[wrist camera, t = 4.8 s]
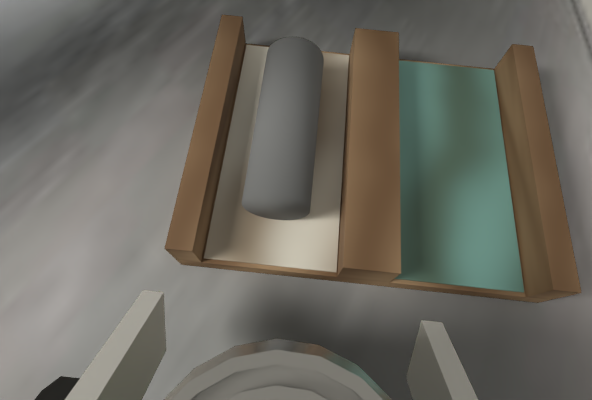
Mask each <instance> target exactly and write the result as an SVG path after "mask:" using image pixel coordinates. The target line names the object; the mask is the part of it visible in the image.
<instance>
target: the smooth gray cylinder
mask: <svg viewBox="0 0 592 400" xmlns="http://www.w3.org/2000/svg"><path fill="white" fill-rule="evenodd" d="M323 64H324V57H323V54H322V52H321V50H320V49H319V48H318V46H316V45H315V44H314V43H312V42H311V41H309V40H307V39H304V38H300V37H285V38H281V39H279V40H277V41H275V42H274V43H272V44H271V46H270V47H269V49H268V51H267V56H266V62H265V68H264V74H263V80H262V85H261V91H260V97H259V103H258V109H257V115H256V121H255V126H254V132H253V138H252V144H251V150H250V156H249V162H248V168H247V173H246V179H245V185H244V191H243V197H242V206H243V208H244V209H245V210H247V211H248V212H250V213H252V214H254V215H257V216H260V217H264V218H268V219H275V220H296V219H301V218H303V217H306V216H307V215H308V214H309V213H310V206H311V195H312V184H313V173H314V163H315V152H316V141H317V130H318V119H319V108H320V97H321V86H322V75H323Z"/></svg>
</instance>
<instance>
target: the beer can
mask: <svg viewBox="0 0 592 400" xmlns="http://www.w3.org/2000/svg"><path fill="white" fill-rule="evenodd" d="M164 400H392V399H391V398H390V397H389V396H388V395H387V394H386V393H385V392H384V391H383V390H382V389H381V388H380V387H379V386H378V385H377V384H376V383H375V382H374V381H373V380H372V379H371V378H370V377H369V376H368V375H367V374H366V373H365V372H364V371H363V370H362V369H361V368H360V367H359V366H358V365H357V364H355V363H353V362H351V361H349V360H347V359H345V358H343V357H341V356H339V355H337V354H335V353H334V352H332V351H330V350H328V349H326V348H324V347H322V346H320V345H317V344H310V343H304V342H297V341H291V340H284V339H278V338H277V339H271V340H266V341H260V342H255V343H249V344H244V345H238V346H234V347H232V348H230V349H229V350H227V351H225V352H223V353H221V354H219V355H218V356H216V357H214V358H212V359H210V360H208V361H207V362H205V363H203V364H201V365H199V366H197V367H196V368H194V369H193V370H192V371H191V372H190V373H189V374H188V375H187V376H186V377H185V378H184V379H183V380H182V381H181V382H180V383H179V384H178V385H177V386H176V387H175V388H174V389H173V390H172V391H171V393H170V394H169V395H168V396H167V397H166V398H165V399H164Z"/></svg>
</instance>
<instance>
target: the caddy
mask: <svg viewBox="0 0 592 400" xmlns="http://www.w3.org/2000/svg"><path fill="white" fill-rule="evenodd" d="M269 47H270V46H265V45H256V44H246V43H245V34H244V25H243V17H240V16H231V15H222V16H221V20H220V24H219V28H218V32H217V37H216V41H215V45H214V49H213V53H212V57H211V61H210V65H209V69H208V73H207V77H206V81H205V85H204V90H203V94H202V98H201V102H200V106H199V110H198V114H197V118H196V122H195V126H194V130H193V134H192V139H191V143H190V147H189V151H188V155H187V159H186V163H185V167H184V171H183V175H182V179H181V183H180V187H179V192H178V196H177V200H176V204H175V208H174V212H173V216H172V220H171V224H170V228H169V232H168V236H167V241H166V245H165V249H166V250H167V251H168V252H169V253H170V254H171V255H172V256H173V257H174V258H175V259H176V260H177V261H178V262H179V263H181V264H182V265H190V266H200V267H209V268H218V269H228V270H237V271H246V272H256V273H265V274H274V275H284V276H293V277H303V278H312V279H321V280H331V281H340V282H349V283H359V284H368V285H377V286H387V287H396V288H405V289H415V290H424V291H433V292H443V293H452V294H461V295H471V296H480V297H489V298H499V299H508V300H517V301H527V302H536V303H539V302H543V301H547V300H552V299H556V298H561V297H565V296H570V295H574V294H579V293H581V288H580V283H579V278H578V273H577V268H576V262H575V257H574V252H573V247H572V242H571V237H570V232H569V227H568V221H567V216H566V211H565V206H564V201H563V196H562V191H561V186H560V181H559V175H558V170H557V165H556V160H555V155H554V150H553V145H552V140H551V135H550V129H549V124H548V119H547V114H546V109H545V104H544V99H543V94H542V88H541V83H540V78H539V73H538V68H537V63H536V58H535V53H534V48H533V46H526V45H516V44H512V45H511V47H510V48H509V49H508V51H507V52H506V54H505V55H504V56H503V58H502V59H501V60H500V62H499V63H498V65H497V66H496V67H495V69H491V68H481V67H471V66H461V65H452V64H442V63H432V62H422V61H412V60H403V59H399V33H398V32H388V31H378V30H368V29H359V28H355V32H354V37H353V41H352V46H351V50H350V54H344V53H334V52H324V51H321V52H322V54H323V57H324V64H323V75H322V86H321V97H320V108H319V119H318V130H317V141H316V152H315V163H314V173H313V184H312V195H311V206H310V213H309V214H308V215H307V216H306V217H303V218H301V219H296V220H275V219H268V218H264V217H260V216H257V215H254V214H252V213H250V212H248V211H247V210H245V209H244V208H243V206H242V197H243V191H244V185H245V179H246V173H247V168H248V162H249V156H250V150H251V144H252V138H253V132H254V126H255V121H256V115H257V109H258V103H259V97H260V91H261V85H262V80H263V74H264V68H265V62H266V56H267V51H268V49H269Z"/></svg>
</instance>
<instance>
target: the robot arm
mask: <svg viewBox="0 0 592 400" xmlns="http://www.w3.org/2000/svg"><path fill="white" fill-rule="evenodd" d="M165 352H166V335H165V313H164V292H155V291H146V290H143V291H142V292H141V294H140V295H139V296H138V298H137V299H136V301H135V302H134V303H133V305H132V306H131V308H130V309H129V310H128V312H127V313H126V315H125V316H124V317H123V319H122V320H121V322H120V323H119V324H118V326H117V327H116V329H115V330H114V331H113V333H112V334H111V336H110V337H109V338H108V340H107V341H106V343H105V344H104V345H103V347H102V348H101V350H100V351H99V352H98V354H97V355H96V357H95V358H94V359H93V361H92V362H91V364H90V365H89V366H88V368H87V369H86V371H85V372H84V373H83V375H82V376H81V378H71V377H62V376H61V377H59V378H58V379H57V380H55V381H54V382H53V383H51V384H50V385H49V386H47V387H46V388H45V389H43V390H42V391H41V392H40V394H39V395H38V396H37V397H36V399H35V400H142V398H143V396H144V394H145V392H146V390H147V388H148V386H149V384H150V382H151V380H152V378H153V376H154V374H155V372H156V370H157V368H158V366H159V364H160V362H161V360H162V358H163V356H164V354H165ZM406 378H407V382H408V385H409V389H410V392H411V396H412V400H478V398H477V396H476V394H475V392H474V390H473V387H472V385H471V383H470V381H469V379H468V377H467V375H466V372H465V370H464V368H463V366H462V364H461V362H460V360H459V357H458V355H457V353H456V351H455V349H454V347H453V345H452V342H451V340H450V338H449V336H448V334H447V332H446V330H445V327H444V325H443V323H442V322H433V321H424V320H421V323H420V327H419V331H418V334H417V338H416V342H415V345H414V349H413V353H412V356H411V360H410V364H409V368H408V371H407V375H406Z"/></svg>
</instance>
